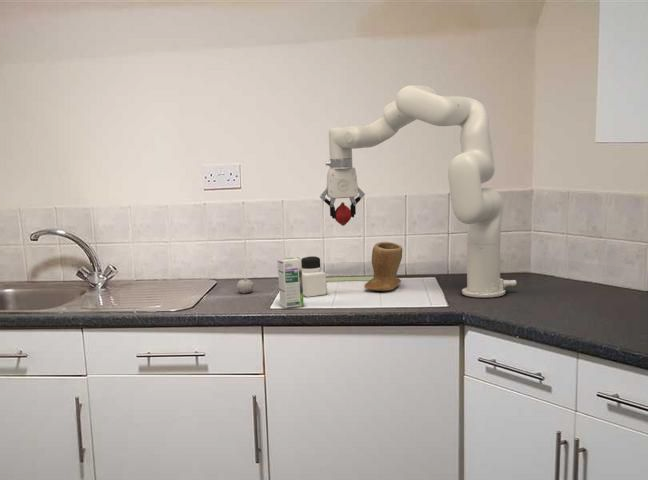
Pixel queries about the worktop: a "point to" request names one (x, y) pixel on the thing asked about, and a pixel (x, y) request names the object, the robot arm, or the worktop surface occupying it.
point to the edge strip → (349, 278)
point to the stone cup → (385, 266)
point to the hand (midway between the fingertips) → (343, 217)
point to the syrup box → (290, 282)
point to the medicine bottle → (313, 277)
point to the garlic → (245, 286)
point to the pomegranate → (342, 214)
